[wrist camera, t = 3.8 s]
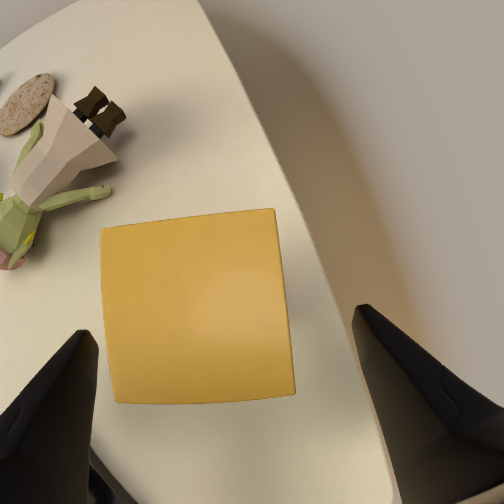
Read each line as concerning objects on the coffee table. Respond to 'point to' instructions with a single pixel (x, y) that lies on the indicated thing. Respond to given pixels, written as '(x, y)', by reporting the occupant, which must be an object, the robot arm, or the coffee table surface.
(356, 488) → the coffee table surface
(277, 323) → the yellow rectangular block
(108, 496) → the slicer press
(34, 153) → the figurine
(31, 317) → the coffee table surface
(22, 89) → the flatbread
